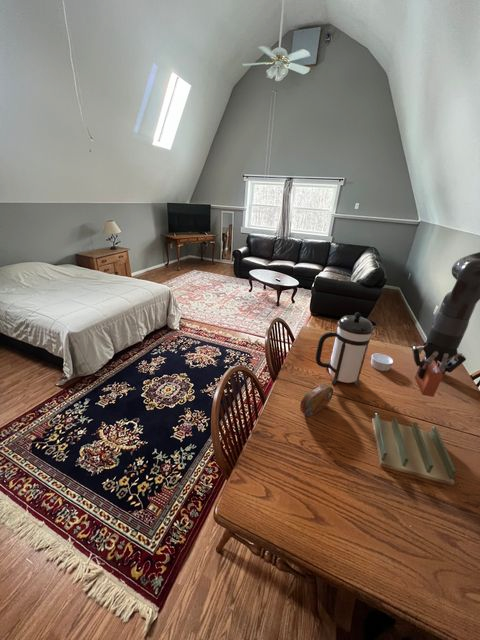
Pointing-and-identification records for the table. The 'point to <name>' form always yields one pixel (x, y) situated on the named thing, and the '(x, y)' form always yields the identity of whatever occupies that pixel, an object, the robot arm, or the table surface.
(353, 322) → the coffee press
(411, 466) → the rack
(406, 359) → the table surface
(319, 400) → the brown flat oval slab
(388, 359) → the ramekin
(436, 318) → the robot arm
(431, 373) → the block
